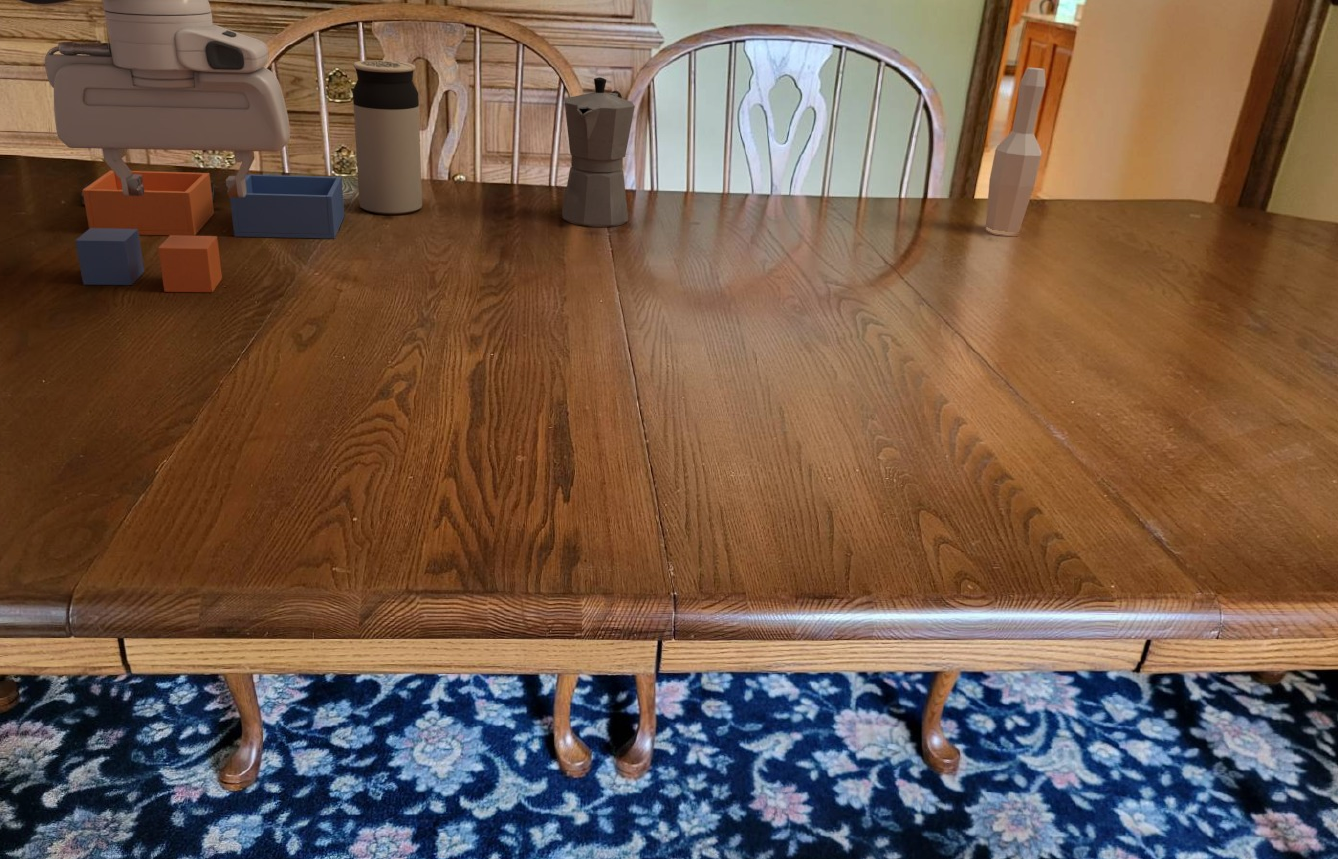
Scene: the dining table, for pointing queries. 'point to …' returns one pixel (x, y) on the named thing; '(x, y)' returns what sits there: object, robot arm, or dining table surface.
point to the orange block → (190, 263)
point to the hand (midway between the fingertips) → (186, 195)
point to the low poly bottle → (1016, 160)
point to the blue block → (110, 256)
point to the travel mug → (387, 137)
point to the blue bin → (289, 207)
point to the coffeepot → (597, 157)
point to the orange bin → (151, 203)
